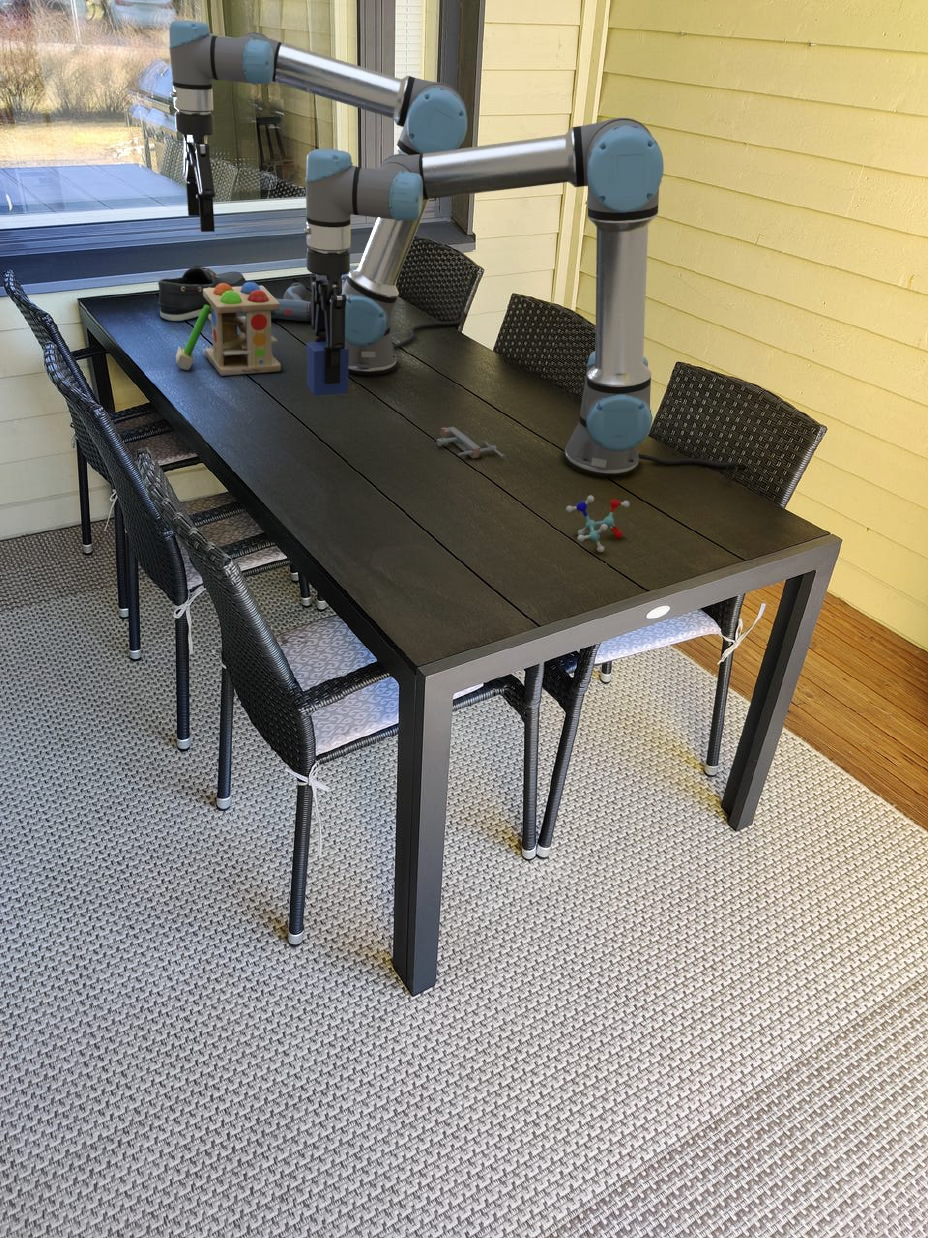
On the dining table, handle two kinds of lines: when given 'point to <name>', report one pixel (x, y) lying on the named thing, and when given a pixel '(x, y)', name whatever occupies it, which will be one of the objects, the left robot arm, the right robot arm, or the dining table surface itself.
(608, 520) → the molecular model
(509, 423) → the dining table surface
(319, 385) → the block
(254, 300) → the pounding bench toy
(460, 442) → the clamp
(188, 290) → the boat shoe
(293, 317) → the power drill
